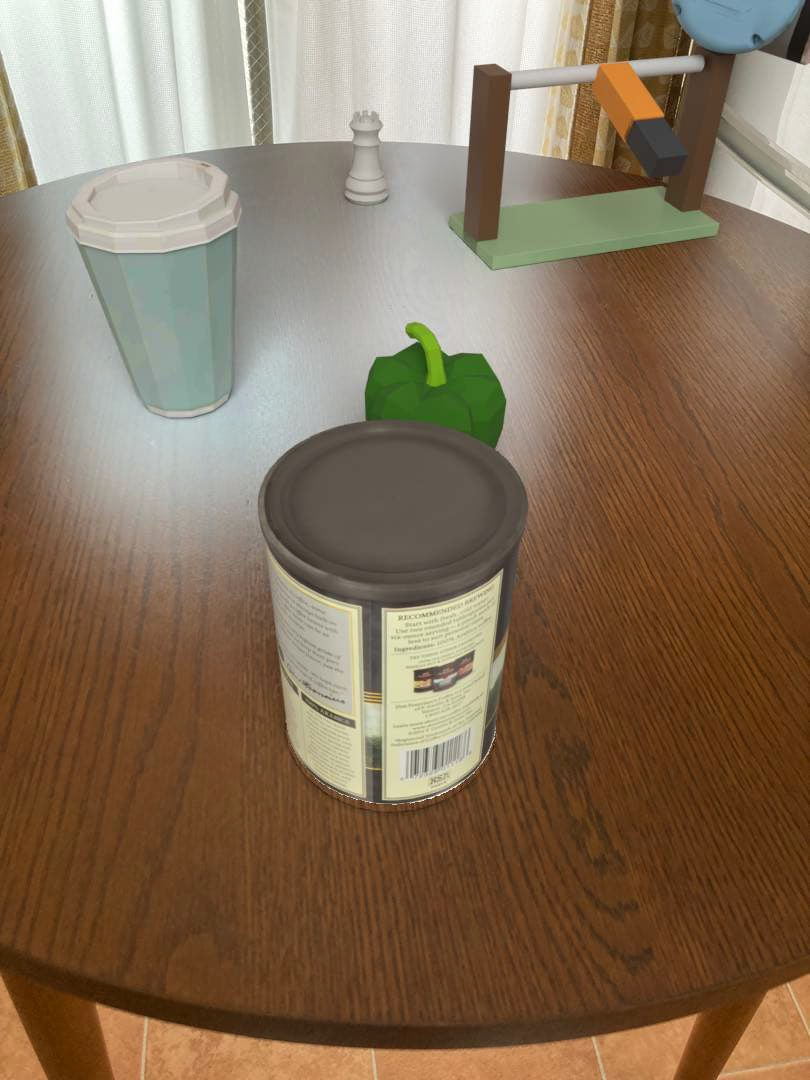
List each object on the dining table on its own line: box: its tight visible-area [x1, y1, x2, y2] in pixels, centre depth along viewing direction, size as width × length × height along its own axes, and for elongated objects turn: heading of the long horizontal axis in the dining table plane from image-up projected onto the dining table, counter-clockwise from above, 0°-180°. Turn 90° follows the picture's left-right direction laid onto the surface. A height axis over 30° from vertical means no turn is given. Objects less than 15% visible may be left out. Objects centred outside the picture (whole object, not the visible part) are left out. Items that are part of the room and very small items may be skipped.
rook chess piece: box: [344, 109, 390, 206], centre depth 90 cm, size 4×4×8 cm
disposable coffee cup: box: [64, 156, 243, 419], centre depth 61 cm, size 11×11×15 cm
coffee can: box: [257, 419, 529, 805], centre depth 40 cm, size 10×10×14 cm
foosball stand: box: [448, 45, 737, 271], centre depth 83 cm, size 24×10×15 cm, turn 111°
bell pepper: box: [364, 321, 507, 450], centre depth 55 cm, size 8×8×10 cm
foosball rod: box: [509, 54, 705, 179], centre depth 76 cm, size 19×2×13 cm
